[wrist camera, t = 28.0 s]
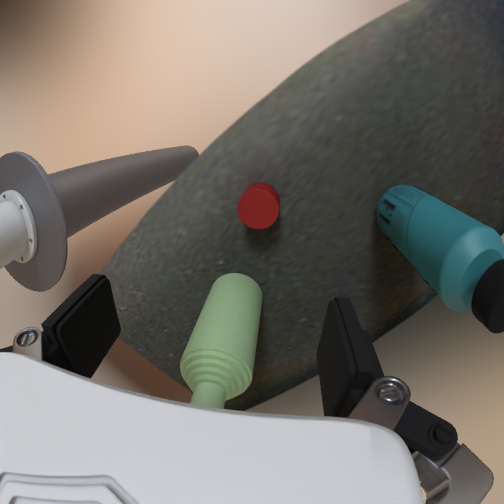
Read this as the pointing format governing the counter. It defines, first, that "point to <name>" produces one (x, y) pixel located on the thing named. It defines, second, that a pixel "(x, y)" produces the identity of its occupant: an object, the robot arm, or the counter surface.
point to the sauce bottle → (223, 342)
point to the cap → (259, 206)
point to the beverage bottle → (447, 251)
